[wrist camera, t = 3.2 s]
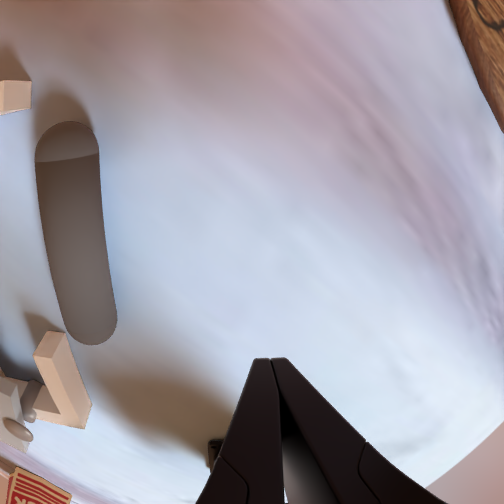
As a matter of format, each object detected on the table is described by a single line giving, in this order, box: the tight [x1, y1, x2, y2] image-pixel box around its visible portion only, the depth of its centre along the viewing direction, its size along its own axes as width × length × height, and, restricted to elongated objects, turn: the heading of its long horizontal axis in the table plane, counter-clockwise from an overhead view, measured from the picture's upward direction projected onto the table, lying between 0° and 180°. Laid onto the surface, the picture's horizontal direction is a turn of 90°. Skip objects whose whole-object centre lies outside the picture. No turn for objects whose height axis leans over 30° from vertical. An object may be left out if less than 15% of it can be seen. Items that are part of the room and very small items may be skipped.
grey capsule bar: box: [35, 121, 117, 345], centre depth 14 cm, size 12×3×3 cm, turn 177°
